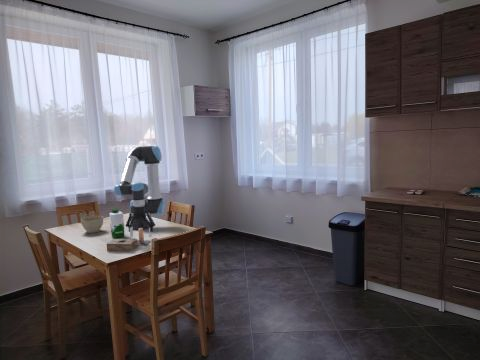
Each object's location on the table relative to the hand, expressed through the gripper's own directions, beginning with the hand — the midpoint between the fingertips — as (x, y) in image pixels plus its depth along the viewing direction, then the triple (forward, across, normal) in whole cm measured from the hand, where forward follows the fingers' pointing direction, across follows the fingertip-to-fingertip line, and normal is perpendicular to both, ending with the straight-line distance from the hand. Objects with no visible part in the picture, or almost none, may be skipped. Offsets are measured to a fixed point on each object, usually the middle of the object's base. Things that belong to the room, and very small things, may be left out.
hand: (141, 236), depth 225 cm
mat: (+5, 0, 0) cm, 5 cm away
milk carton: (+5, -25, +14) cm, 29 cm away
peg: (+4, 0, 0) cm, 5 cm away
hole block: (+5, -8, -11) cm, 14 cm away
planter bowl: (+5, -53, +27) cm, 60 cm away
